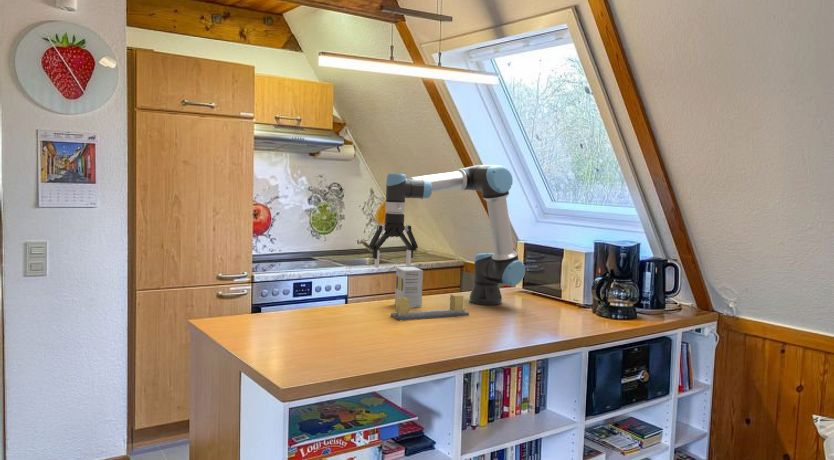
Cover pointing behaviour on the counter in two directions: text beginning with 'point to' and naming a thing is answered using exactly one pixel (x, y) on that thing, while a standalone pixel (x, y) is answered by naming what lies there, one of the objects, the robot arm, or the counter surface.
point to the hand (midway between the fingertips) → (392, 266)
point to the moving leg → (402, 305)
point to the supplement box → (409, 285)
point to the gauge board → (437, 311)
